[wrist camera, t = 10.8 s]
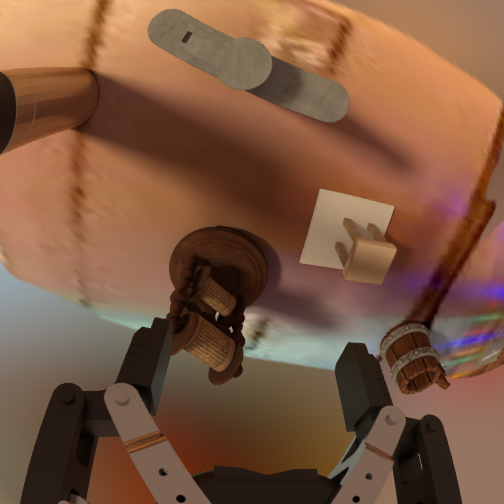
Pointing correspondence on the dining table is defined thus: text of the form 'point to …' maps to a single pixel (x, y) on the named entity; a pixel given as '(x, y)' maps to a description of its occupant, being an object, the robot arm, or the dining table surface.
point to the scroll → (214, 296)
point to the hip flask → (248, 66)
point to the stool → (365, 255)
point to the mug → (412, 358)
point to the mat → (340, 225)
